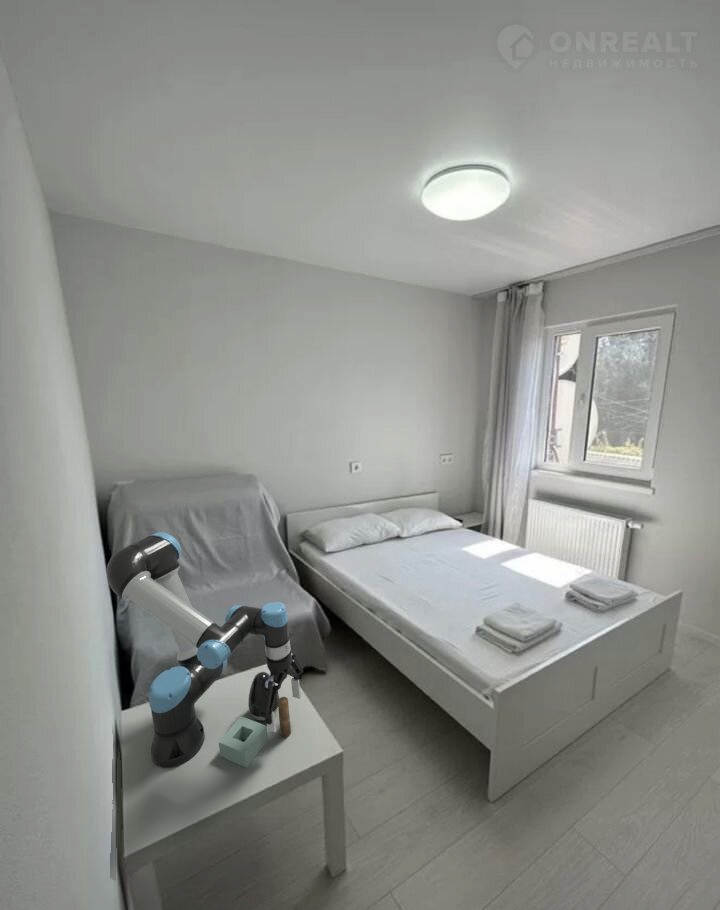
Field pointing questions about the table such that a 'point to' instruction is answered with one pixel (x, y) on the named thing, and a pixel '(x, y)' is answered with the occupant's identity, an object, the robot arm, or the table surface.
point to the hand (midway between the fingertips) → (285, 713)
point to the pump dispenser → (259, 695)
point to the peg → (284, 717)
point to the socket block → (240, 750)
